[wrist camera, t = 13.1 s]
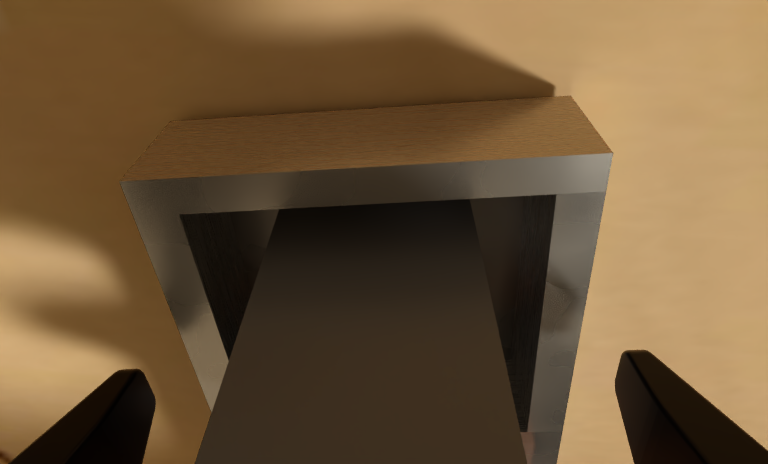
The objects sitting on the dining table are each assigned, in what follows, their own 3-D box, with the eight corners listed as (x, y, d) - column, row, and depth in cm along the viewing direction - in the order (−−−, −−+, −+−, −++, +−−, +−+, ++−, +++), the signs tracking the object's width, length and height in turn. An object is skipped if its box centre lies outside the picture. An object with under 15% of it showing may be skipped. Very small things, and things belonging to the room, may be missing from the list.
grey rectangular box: (522, 481, 18) (538, 561, 16) (286, 487, 19) (272, 565, 17) (570, 95, 11) (612, 153, 9) (170, 121, 11) (119, 181, 9)
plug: (466, 326, 14) (532, 758, 7) (311, 334, 14) (234, 758, 7) (467, 190, 11) (564, 636, 5) (281, 201, 12) (135, 642, 5)
